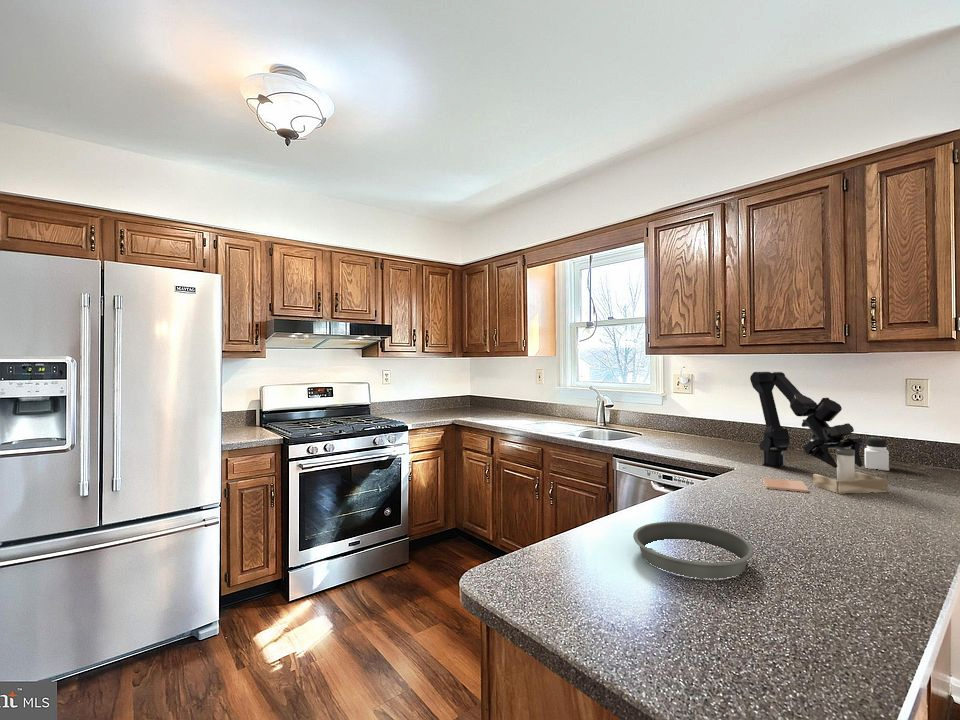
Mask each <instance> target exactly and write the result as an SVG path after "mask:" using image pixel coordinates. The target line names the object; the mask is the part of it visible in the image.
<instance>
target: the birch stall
mask: <svg viewBox="0 0 960 720" xmlns="http://www.w3.org/2000/svg"><path fill="white" fill-rule="evenodd" d="M812 485H815V486H814V487H816V486H817V488H819V487H821V488H820V489H822V488H824V489H823V490H825V489H827V490H826V491H828V490H830V491H829V492H831V491H833V492H832V493H834V492H836V493H835V494H838V493H839V494H838V495H846V494H845V493H855V494H868V493H869V494H871V493H870V492H874V493H887V492H889V490H888V488H889V487H888V479H887V478H882V477H879V476H875V475H871V474H867V473H863V472H859V471H855V480H848V481H839V480H837V479H835V478H832V477H828V476H824V475H821V474H818V473H813V474H812Z"/></svg>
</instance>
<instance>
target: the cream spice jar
mask: <svg viewBox="0 0 960 720" xmlns="http://www.w3.org/2000/svg"><path fill="white" fill-rule="evenodd" d="M835 453H836V464H837V466H838V467H837V468H836V480H839V481H848V480H855V472H856V471H855V470H856V469H855V465H856V464H855V450H853V449H847V448H836V449H835Z"/></svg>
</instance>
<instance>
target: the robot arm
mask: <svg viewBox="0 0 960 720" xmlns="http://www.w3.org/2000/svg"><path fill="white" fill-rule="evenodd" d="M749 380H750V383H751V387H752V388H753V390H755V391H756V392H757V394H758V396H759V400H760V405H761V410H762V414H763V418H764V422H765V430H764V432H763V440H761V442H760V443H759V444H758V446H759V449H760V450H761V451H763V463H762V466H766V465H767V466H768V467H775V468H782V467H784V466H785V465H786V456H785V454H784V452H787V451H788V449H789V445H790V442H791V441H790V439H791V437H790V435H789V430H788V429H787V428H784V427H783V426H782V424H781V423H780V418H779V415H778V410H777V406H776V405H777V404H776V401H775V398H774V393H773V390H774V388H775V387H776V389H778V390H779V391H780V392H781V393H782V394H783V396H784V397H785V398H786V400H788V402H789V408H790V409H791V410H792V412H793V414H794V415H795V416H796V417H806V418H805V419H802V423H801V427H802V428H805V427H806V428H808V429H809V430H810V432H812V434H813V435H812V438H811V439H810V440H809V441H808V442H807V443H806V444H805V445H804V447H803V451H804V452H805V453H806V455H809V456H811V457H815V458H816V459H818V460H820V461H822V462H824V463H825V464H827V465H829V466H831V467H832V468H834V469H837V467H838V466H837V461H836V460H834V457H832V455H831V453H830V452H829V449H831V450H833V449H835V450H836V449H837V448H847V449H853V450H855V465H857V466H858V467H860V468H862V467H863V463H862V462H863V461H862V459H861V456H860V448H861V447H863V445H864V444H865V442H864V441H863V440H862V439H861V437H848V438H846V440H844V439H845V436H848V435H850V436H851V435H852V433H854V432H855V430H854V427H853V425H852V424H850V423H844V424H838V425H837V424H836V425H833V426H830V425H829V423H828V422H832V421H833V420H834V419H835V418H836V416H837V415H838V414H839V413H840V412H841V411H842V410H843V408H842V406H841V405H840V404H839V403H838V402H837V401H835V400H832V399H830V398H829V397H822V398H821V399H820V402H818V403H817V402H816V401H814V400H813V399H812V398H810V397H808V396H806V395H804V394H802V393H801V392H800V391H799V389H798V388H797V387H796V386H795V385H794V384H793V383H792V382H791V381H790V379H789V378H788V377H787V376H786V374H785V373H784V372H782V371H771V372H770V371H754V372H752V373H751V375H750V377H749ZM843 440H844V442H843Z"/></svg>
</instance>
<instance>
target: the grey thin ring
mask: <svg viewBox="0 0 960 720" xmlns="http://www.w3.org/2000/svg"><path fill="white" fill-rule="evenodd" d="M632 535H633V536H632V537H633V540H634V542H635V543H636V544H637V546H638V547H639V549H640V553H641V556H643V557H644V558H645V559H646V560H647V561H648V562H649V563H651V564H652V565H654V566H656V567H658V568H661V569H663V570H666V571H669V572H673V573H676V574H680V575H684V576H689V577H697V578H710V579H711V578H713V579H714V578H727V577H732V576H736V575H739V574H741V573H742V572H743V571H744V570H746V565H747V562H748V560H750V559H751V558H752V557H753V555H754V548H753V546H752V545H751V543H749V541H748V540H746V539H744V538H743V537H741V536H740V535H738V534H735V533H733V532H730V531H728V530H726V529H723V528H719V527H716V526H712V525H708V524H701V523H696V522H690V521H689V522H687V521H660V522H652V523H648V524H644V525H642V526H640V527H638V528H637V529H635V531H634V532H633V534H632ZM664 539H689V540H696V541H700V542H705V543H709V544H712V545H715V546H718V547H721V548H724V549H726V550H729V551H730V552H732V553H734V554H736V555H737V556H738V557H740V558H741V559H738V560H735V561H730V562H718V563H708V562H695V561H687V560H682V559H677V558H673V557H669V556H666V555H663V554H660V553H659V552H656V551H655V550H652V549H649V548H647V547H645V545H646V544H648V543H651V542H653V541H657V540H664ZM643 557H642V558H643ZM644 558H643V559H644ZM649 563H648V564H649ZM744 572H745V571H744Z"/></svg>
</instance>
